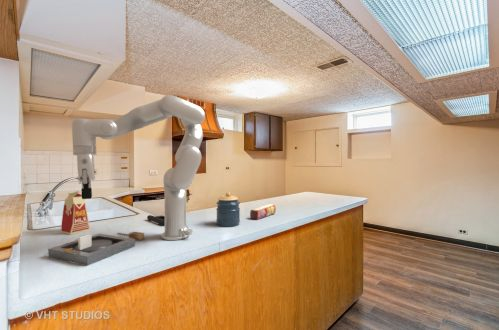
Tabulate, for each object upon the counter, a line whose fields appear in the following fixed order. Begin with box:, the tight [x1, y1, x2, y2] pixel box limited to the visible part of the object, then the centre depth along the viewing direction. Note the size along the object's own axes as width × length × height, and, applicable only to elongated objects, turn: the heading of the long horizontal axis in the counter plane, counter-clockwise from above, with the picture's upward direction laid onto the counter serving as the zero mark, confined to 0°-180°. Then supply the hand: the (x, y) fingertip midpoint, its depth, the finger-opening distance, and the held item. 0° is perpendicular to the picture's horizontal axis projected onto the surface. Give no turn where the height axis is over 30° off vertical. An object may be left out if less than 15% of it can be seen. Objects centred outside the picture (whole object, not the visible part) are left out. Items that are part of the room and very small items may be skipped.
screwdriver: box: [116, 231, 145, 242], centre depth 112 cm, size 14×3×3 cm, turn 70°
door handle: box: [146, 214, 165, 227], centre depth 143 cm, size 3×20×16 cm
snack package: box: [249, 203, 277, 221], centre depth 156 cm, size 21×7×7 cm, turn 144°
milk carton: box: [60, 190, 91, 236], centre depth 122 cm, size 9×9×20 cm
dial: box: [75, 233, 112, 253], centre depth 95 cm, size 12×12×6 cm
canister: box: [215, 191, 241, 228], centre depth 137 cm, size 13×13×18 cm
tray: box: [47, 233, 136, 266], centre depth 95 cm, size 20×20×4 cm
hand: (86, 198), depth 96 cm, fingers closed
